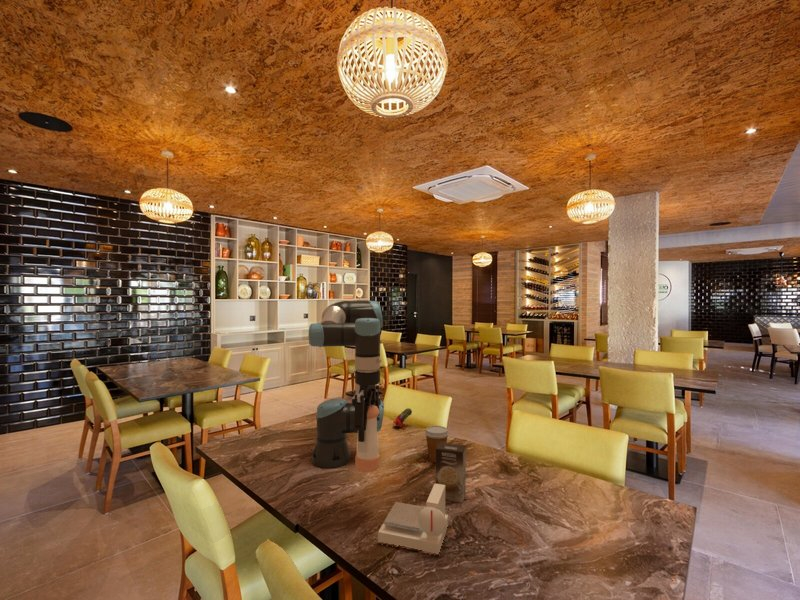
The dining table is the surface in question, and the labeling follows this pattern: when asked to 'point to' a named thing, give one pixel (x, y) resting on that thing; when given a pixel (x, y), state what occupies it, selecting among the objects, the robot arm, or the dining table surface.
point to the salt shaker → (369, 444)
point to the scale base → (422, 526)
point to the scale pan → (404, 516)
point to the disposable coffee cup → (435, 439)
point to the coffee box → (451, 470)
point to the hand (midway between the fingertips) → (367, 446)
